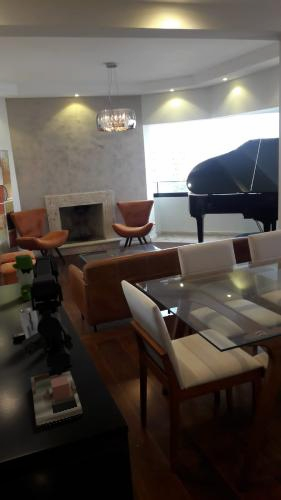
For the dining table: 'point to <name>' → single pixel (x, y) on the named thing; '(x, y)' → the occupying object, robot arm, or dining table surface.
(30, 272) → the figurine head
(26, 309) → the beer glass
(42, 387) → the deck
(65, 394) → the red block
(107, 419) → the dining table surface
